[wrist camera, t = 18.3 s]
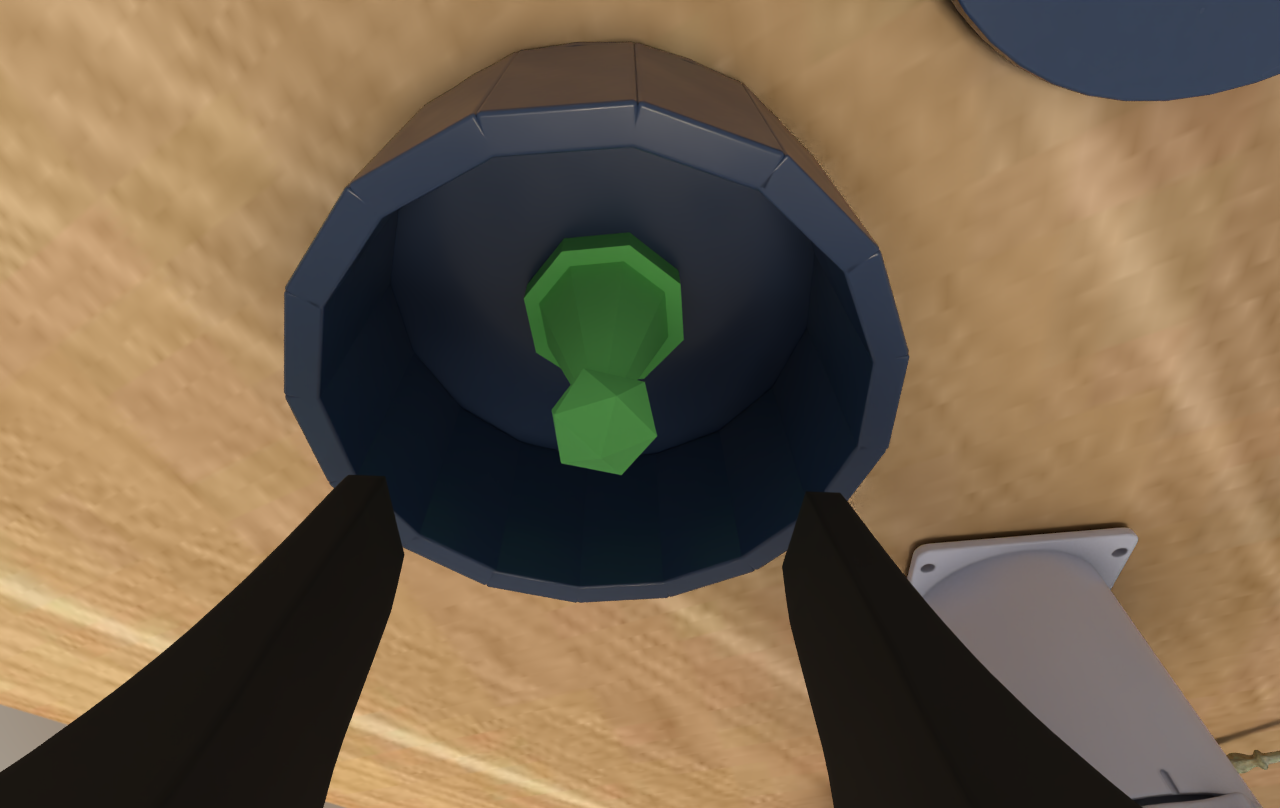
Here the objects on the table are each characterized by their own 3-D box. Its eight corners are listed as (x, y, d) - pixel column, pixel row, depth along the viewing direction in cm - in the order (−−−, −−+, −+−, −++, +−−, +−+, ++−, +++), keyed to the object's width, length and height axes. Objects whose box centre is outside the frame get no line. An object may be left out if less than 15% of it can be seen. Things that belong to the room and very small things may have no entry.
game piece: (640, 199, 16) (647, 329, 11) (712, 332, 18) (742, 487, 13) (493, 275, 17) (442, 423, 12) (579, 391, 19) (564, 553, 14)
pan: (883, 377, 20) (954, 511, 15) (533, 507, 23) (512, 647, 19) (735, -82, 13) (791, -70, 8) (262, 198, 16) (130, 309, 12)
